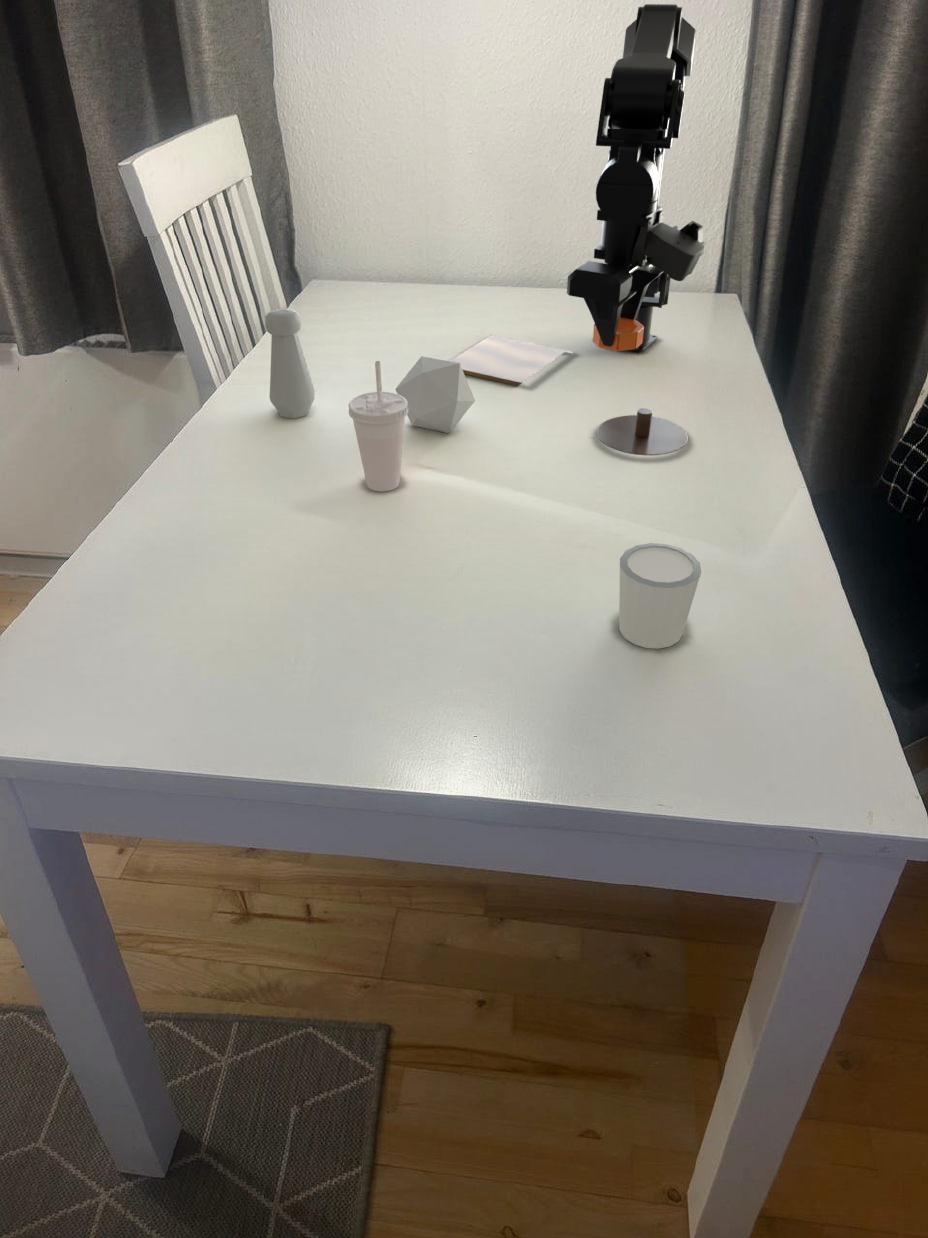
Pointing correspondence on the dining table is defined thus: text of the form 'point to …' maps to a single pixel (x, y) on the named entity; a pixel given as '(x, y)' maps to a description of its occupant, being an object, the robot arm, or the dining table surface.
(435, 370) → the die
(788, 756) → the dining table surface
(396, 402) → the smoothie
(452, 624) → the dining table surface
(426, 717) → the dining table surface
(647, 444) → the ring post
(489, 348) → the trivet
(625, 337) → the ring
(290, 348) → the salt shaker
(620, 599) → the shot glass
